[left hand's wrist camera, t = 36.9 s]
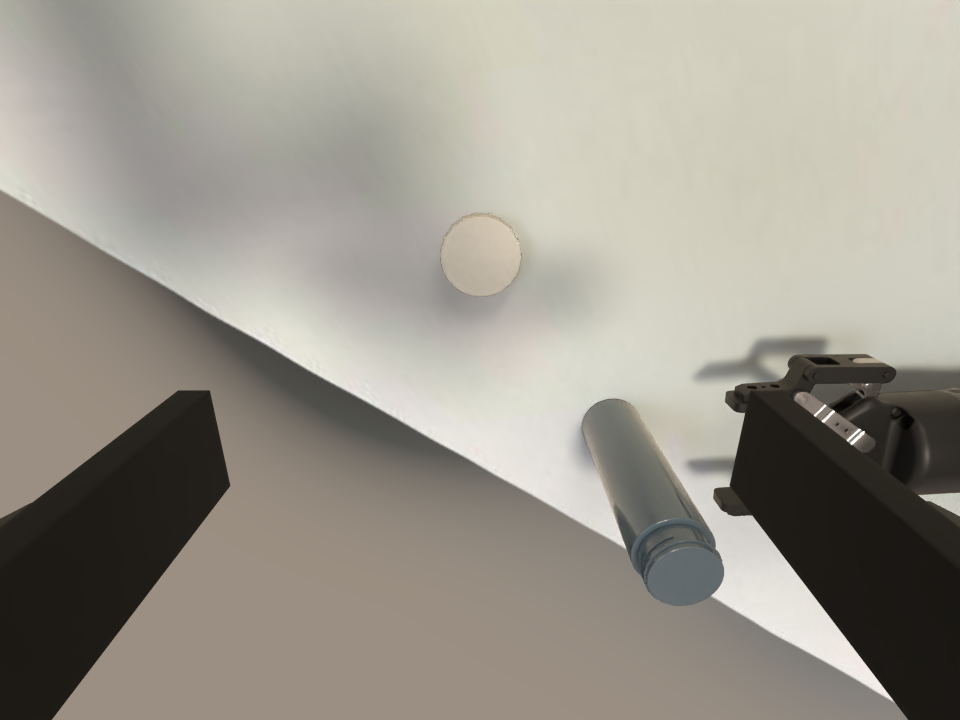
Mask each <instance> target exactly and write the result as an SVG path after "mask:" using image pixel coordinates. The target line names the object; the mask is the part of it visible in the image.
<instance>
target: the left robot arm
mask: <svg viewBox="0 0 960 720" xmlns="http://www.w3.org/2000/svg"><path fill="white" fill-rule="evenodd" d="M229 487H230V482H229V478H228V473H227V468H226V464H225V459H224V454H223V450H222V445H221V440H220V436H219V431H218V427H217V422H216V417H215V413H214V408H213V403H212V399H211V394H210V391H177V392H176V393H174V394H173V395H172V396H170V397H169V398H168V399H167V400H165V401H164V402H163V403H161V404H160V405H159V406H158V407H156V408H155V409H154V410H152V411H151V412H150V413H148V414H147V415H146V416H144V417H143V418H142V419H141V420H139V421H138V422H137V423H135V424H134V425H133V426H131V427H130V428H129V429H128V430H126V431H125V432H124V433H122V434H121V435H120V436H118V437H117V438H116V439H115V440H113V441H112V442H111V443H109V444H108V445H107V446H105V447H104V448H103V449H102V450H100V451H99V452H98V453H96V454H95V455H94V456H92V457H91V458H90V459H89V460H87V461H86V462H85V463H83V464H82V465H81V466H79V467H78V468H77V469H76V470H74V471H73V472H72V473H70V474H69V475H68V476H66V477H65V478H64V479H63V480H61V481H60V482H59V483H57V484H56V485H55V486H53V487H52V488H51V489H50V490H48V491H47V492H46V493H44V494H43V495H42V496H40V497H39V498H38V499H37V500H35V501H34V502H33V503H30V504H28V505H26V506H24V507H22V508H20V509H18V510H17V511H14V512H13V513H11V514H9V515H7V516H5V517H3V518H1V519H0V720H52V719H53V717H54V716H55V715H56V713H57V712H58V711H59V710H60V708H61V707H62V706H63V704H64V703H65V702H66V700H67V699H68V698H69V696H70V695H71V694H72V693H73V691H74V690H75V689H76V687H77V686H78V685H79V683H80V682H81V681H82V679H83V678H84V677H85V675H86V674H87V673H88V671H89V670H90V669H91V668H92V666H93V665H94V664H95V662H96V661H97V660H98V658H99V657H100V656H101V654H102V653H103V652H104V651H105V649H106V648H107V647H108V645H109V644H110V643H111V641H112V640H113V639H114V637H115V636H116V635H117V634H118V632H119V631H120V630H121V628H122V627H123V626H124V624H125V623H126V622H127V620H128V619H129V618H130V617H131V615H132V614H133V613H134V611H135V610H136V609H137V607H138V606H139V605H140V603H141V602H142V601H143V599H144V598H145V597H146V596H147V594H148V593H149V592H150V590H151V589H152V588H153V586H154V585H155V584H156V582H157V581H158V580H159V578H160V577H161V576H162V574H163V573H164V572H165V571H166V569H167V568H168V567H169V565H170V564H171V563H172V561H173V560H174V559H175V558H176V556H177V555H178V554H179V552H180V551H181V550H182V548H183V547H184V546H185V544H186V543H187V542H188V540H189V539H190V538H191V537H192V535H193V534H194V533H195V531H196V530H197V529H198V527H199V526H200V525H201V523H202V522H203V521H204V520H205V518H206V517H207V516H208V514H209V513H210V512H211V510H212V509H213V508H214V506H215V505H216V504H217V502H218V501H219V500H220V499H221V497H222V496H223V495H224V493H225V492H226V491H227V489H228V488H229ZM730 487H731V488H732V489H733V491H734V492H735V493H736V495H737V496H738V497H739V499H740V500H741V501H742V503H743V504H744V505H745V506H746V508H747V509H748V510H749V512H750V513H751V514H752V516H753V517H754V518H755V520H756V521H757V522H758V523H759V525H760V526H761V527H762V529H763V530H764V531H765V533H766V534H767V535H768V537H769V538H770V539H771V541H772V542H773V543H774V544H775V546H776V547H777V548H778V550H779V551H780V552H781V554H782V555H783V556H784V558H785V559H786V560H787V561H788V563H789V564H790V565H791V567H792V568H793V569H794V571H795V572H796V573H797V575H798V576H799V577H800V579H801V580H802V581H803V582H804V584H805V585H806V586H807V588H808V589H809V590H810V592H811V593H812V594H813V596H814V597H815V598H816V599H817V601H818V602H819V603H820V605H821V606H822V607H823V609H824V610H825V611H826V613H827V614H828V615H829V617H830V618H831V619H832V620H833V622H834V623H835V624H836V626H837V627H838V628H839V630H840V631H841V632H842V634H843V635H844V636H845V637H846V639H847V640H848V641H849V643H850V644H851V645H852V647H853V648H854V649H855V651H856V652H857V653H858V655H859V656H860V657H861V658H862V660H863V661H864V662H865V664H866V665H867V666H868V668H869V669H870V670H871V672H872V673H873V674H874V675H875V677H876V678H877V679H878V681H879V682H880V683H881V685H882V686H883V687H884V689H885V690H886V691H887V693H888V694H889V695H890V696H891V698H892V699H893V700H894V702H895V703H896V704H897V706H898V707H899V708H900V710H901V711H902V712H903V713H904V715H905V716H906V717H907V719H908V720H960V516H958V515H956V514H954V513H952V512H950V511H948V510H946V509H944V508H942V507H940V506H938V505H936V504H934V503H932V502H930V501H925V500H923V499H922V498H921V497H920V496H918V495H917V494H916V493H914V492H913V491H912V490H910V489H909V488H908V487H907V486H905V485H904V484H903V483H901V482H900V481H899V480H897V479H896V478H895V477H894V476H892V475H891V474H890V473H888V472H887V471H886V470H884V469H883V468H882V467H881V466H879V465H878V464H877V463H875V462H874V461H873V460H871V459H870V458H869V457H868V456H866V455H865V454H864V453H862V452H861V451H860V450H858V449H857V448H856V447H855V446H853V445H852V444H851V443H849V442H848V441H847V440H845V439H844V438H843V437H842V436H840V435H839V434H838V433H836V432H835V431H834V430H832V429H831V428H830V427H829V426H827V425H826V424H825V423H823V422H822V421H821V420H819V419H818V418H817V417H816V416H814V415H813V414H812V413H810V412H809V411H808V410H806V409H805V408H804V407H803V406H801V405H800V404H799V403H797V402H796V401H795V400H793V399H792V398H791V397H790V396H788V395H787V394H786V393H784V392H783V391H750V394H749V399H748V403H747V408H746V413H745V417H744V422H743V426H742V431H741V436H740V440H739V445H738V450H737V454H736V459H735V464H734V468H733V473H732V478H731V482H730Z"/></svg>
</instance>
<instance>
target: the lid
mask: <svg viewBox="0 0 960 720" xmlns="http://www.w3.org/2000/svg"><path fill="white" fill-rule="evenodd" d="M440 252H441V263H442V264H441V266H442V268H443V271H444V273H445V275H446V277H447V279H448V280H449V281H450V283H451V284H452V285H453V286H454V287H455V288H457V289H458V290H460V291H461V292H463V293H465V294H468V295H472V296H478V297H484V296H490V295H494V294H496V293H498V292H500V291H502V290H504V289H505V288H506V287H507V286H508V285H509V284H510V283H511V282H512V281H513V280H514V278H515V276H516V275H517V272H518V270H519V268H520V267H519V266H520V261H521V252H520V247H519V240H518V238H516V236H515V234H514V232H513V230H512V227H509V226H508V225H507V224H506V223H505V222H504V221H503V220H502V218H500V219H499V218H498V217H495V216H493V215H490V213H488V214H477V213H475V214H472V215H469V216H466V217H462V219H461V220H459V221H458V222H456V223H455V224H454V225H452V227H451V229H450V230H449V232H448V234H447V235H445V237H444V243H443V245H442V249H441V251H440Z"/></svg>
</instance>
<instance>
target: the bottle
mask: <svg viewBox="0 0 960 720" xmlns="http://www.w3.org/2000/svg"><path fill="white" fill-rule="evenodd" d="M582 430H583V434H584V437H585V439H586V442H587V445H588V447H589V450H590V453H591V455H592V458H593V461H594V463H595V466H596V469H597V471H598V474H599V477H600V479H601V482H602V485H603V487H604V490H605V492H606V495H607V498H608V500H609V503H610V506H611V508H612V511H613V514H614V516H615V519H616V522H617V524H618V527H619V530H620V532H621V535H622V538H623V540H624V543H625V546H626V548H627V551H628V554H629V556H630V559H631V562H632V564H633V567H634V568H635V570H636V571H637V572H638V573H639V574H640V575H641V576H642V578H643V580H644V583H645V586H646V588H647V590H648V592H649V593H650V594H651V595H652V596H653V597H654V598H656V599H658V600H660V601H661V602H663V603H666V604H670V605H676V606H685V605H691V604H695V603H698V602H701V601H703V600H705V599H707V598H708V597H710V596H711V595H712V594H713V593H714V592H715V591H716V590H717V589H718V588H719V586H720V585H721V583H722V580H723V577H724V567H723V564H722V559H721V556H720V554H719V552H718V551H717V550H716V544H715V539H714V536H713V534H712V532H711V530H710V529H709V527H708V526H707V524H706V522H705V521H704V519H703V518H702V516H701V514H700V513H699V511H698V509H697V508H696V506H695V505H694V503H693V501H692V500H691V498H690V497H689V495H688V493H687V492H686V490H685V488H684V487H683V485H682V484H681V482H680V480H679V479H678V477H677V476H676V474H675V472H674V471H673V469H672V468H671V466H670V464H669V463H668V461H667V459H666V458H665V456H664V455H663V453H662V451H661V450H660V448H659V447H658V445H657V443H656V442H655V440H654V438H653V437H652V435H651V434H650V432H649V430H648V429H647V427H646V426H645V424H644V422H643V421H642V419H641V417H640V416H639V414H638V413H637V411H636V410H635V408H634V407H633V406H632V405H630V404H629V403H627V402H625V401H622V400H617V399H609V400H604V401H601V402H599V403H597V404H596V405H594V406H593V407H592V408H590V410H589V411H588V412H587V413H586V415H585V417H584V419H583V424H582Z"/></svg>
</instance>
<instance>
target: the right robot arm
mask: <svg viewBox="0 0 960 720" xmlns="http://www.w3.org/2000/svg"><path fill="white" fill-rule="evenodd" d="M788 367H789V368H790V369H789V371H788V373H787V374H786V376H785V377H784V378H783V379H780V380H779V381H777V382H764V383H751V384H750V383H748V384H741V385H738V386H736V387H735V391H727V392H726V397H725V402H726V403H727V404H728V405H729V406H730V407H731V408H732V409H733V410H734V411H736V412H739V413H746V408H747V403H748V399H749V394H750V391H783V392H784V393H786V394H787V395H788V396H790V397H791V398H792V399H793V400H795V401H796V402H797V403H799V404H800V405H801V406H803V407H804V408H805V409H806V410H808V411H809V412H810V413H812V414H813V415H814V416H816V417H817V418H818V419H819V420H821V421H822V422H823V423H825V424H826V425H827V426H829V427H830V428H831V429H832V430H834V431H835V432H836V433H838V434H839V435H840V436H842V437H843V438H844V439H845V440H847V441H848V442H849V443H851V444H852V445H853V446H855V447H856V448H857V449H858V450H860V451H861V452H862V453H864V454H865V455H866V456H868V457H869V458H870V459H871V460H873V461H874V462H875V463H877V464H878V465H879V466H881V467H882V468H883V469H884V470H886V471H887V472H888V473H890V474H891V475H892V476H894V477H895V478H896V479H897V480H899V481H900V482H901V483H903V484H904V485H905V486H907V487H908V488H909V489H910V490H912V491H913V492H914V493H916V494H917V495H925V494H943V493H960V388H948V389H943V390H927V391H910V392H894V393H879V390H880V387H881V384H882V383H888V382H890V381H892V380H893V379H894V378H895V376H896V370H895V369H894V368H893V367H891V366H889V365H887V364H885V363H883V362H881V361H879V360H877V359H875V358H873V357H871V356H869V355H866V354H838V355H795V356H793V357H791V358H790V359H789V361H788ZM841 383H847V384H849V385H850V386H852V387H854V388H855V389H856V391H853V392H850V393H848V394H846V395H845V396H843V397H842V398H840V399H838V400H837V401H835V402H834V403H832V404H830V405H829V406H827V405H825V404H824V403H822V402H821V401H819V400H818V399H817V398H815V397H814V396H812V395H811V394H810V391H811V390H812V388H813V386H814V385H815V384H841ZM713 499H714V500H715V502H716V503H717V504H718V506H719V507H720V509H721V510H722V511H724V512H727V513H728V515H732V516H741V515H742V516H747V515H752V514H751V513H750V512H749V510H748V509H747V508H746V506H745V505H744V504H743V503H742V501H741V500H740V499H739V497H738V496H737V495H736V493H735V492H734V491H733V489H732V488H731V487H723V488H715V489H714V495H713Z"/></svg>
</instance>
